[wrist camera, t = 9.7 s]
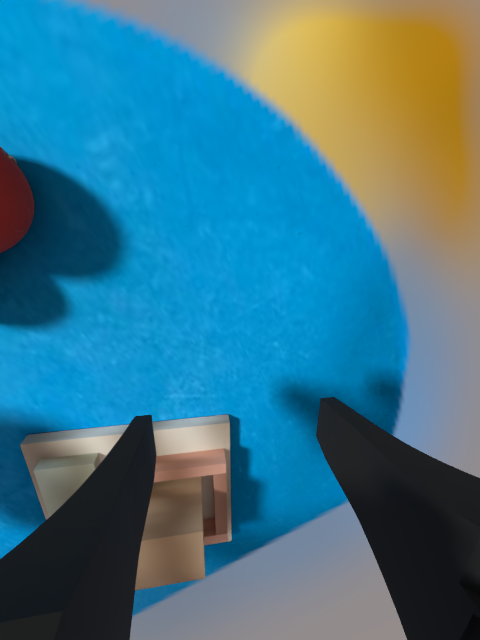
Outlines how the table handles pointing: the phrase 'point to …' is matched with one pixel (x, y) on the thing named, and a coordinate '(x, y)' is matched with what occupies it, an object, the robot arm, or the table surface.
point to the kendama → (13, 202)
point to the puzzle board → (171, 463)
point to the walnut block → (172, 535)
